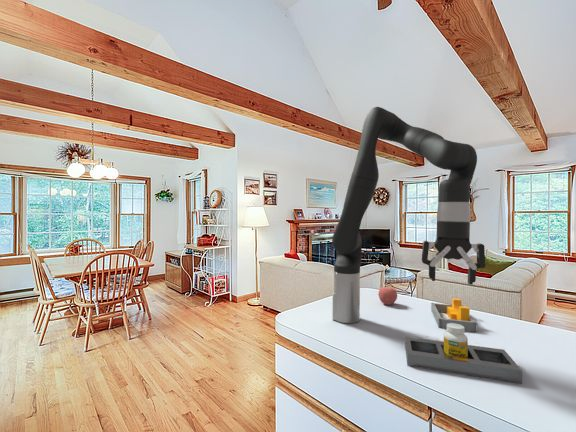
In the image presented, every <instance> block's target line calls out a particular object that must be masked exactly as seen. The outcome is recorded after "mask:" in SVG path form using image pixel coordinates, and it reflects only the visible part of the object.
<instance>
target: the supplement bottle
mask: <svg viewBox="0 0 576 432" xmlns="http://www.w3.org/2000/svg"><path fill="white" fill-rule="evenodd" d="M465 332H466V331H465V328H464V326H462V325H460V324H456V323H448V324H447V329H446V331H444V333H443V342H444V354H445V355H447V356H454V357H461V358H468V345H469V343H468V341H469V339H468V336H467V335H466V334H465Z"/></svg>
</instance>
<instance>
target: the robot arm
mask: <svg viewBox="0 0 576 432" xmlns="http://www.w3.org/2000/svg"><path fill="white" fill-rule="evenodd" d="M378 139H379V140H384V141H390V142H395V143H397V144H400V145H402V146H404V147H405V148H407V149H408V150H409V151H411V152H413V153H414V154H417V156H418V155H419V156H420V157H423V158H425V159H426V160H427V161H428V162H429V163H431V164H432V165H433V166H434V167H437V168H439V169H442V170H449V171H450V173H449V175H448V178H447V179H444V180H442V181H441V182H440V183H439V184H438V199H437V200H438V201H437V203H438V205H437V211H436V217H435V218H436V236H435V237H436V239H435V241H434V242H433V241H428V240H423V241H422V242H423V243H422V252H421V262H422V264H424V265H427V266H428V277H429V279H431V281H432V282H435V281H436V267H437V266H436V265H437V264H438V263H439V262H440V261H441V260H442V259H443V258H444V259H445V260H446V259H447V260H450V259H451V260H459V261H460V260H463V262H465V263H466V265H467V266H468V268H467V284H468V285H471V286H473V284H474V283H476V280H477V279H476V277H477V270H478V269H485V267H486V254H485V253H486V252H485V251H486V250H485V245H484V244H483V243H482V242H481V243H479V242H478V243H471V242H470V237H471V235H470V233H471V232H470V231H471V208H470V207H471V206H470V199H471V198H470V196H471V195H470V194H471V193H470V192H471V191H470V190H471V189H470V187H471V183H472V180H473V178H474V175H475V171H476V167H477V163H478V156H477V155H478V154H477V150H476V149H475V148H474V147H473V145H471V144H469V143H462V142H456V141H452V140H448V139H445V138H444V137H443V136H442V135H441V134H438V133H436V132H434V131H430V130H429V129H425V128H422V127H417V126H413V125H410V124H408V123H407V122H406V121H404V120H403V119H402V118H400V117H399V116H398V115H397V114H395V113H394V112H391V111H389V110H388V109H385V108H384V107H381V106H374V107H372V108H371V109H370V110H369V112H368V113H367V114H366V117H365V119H364V121H363V125H362V130H361V136H360V140H359V141H360V142H359V147H358V152H357V155H356V159H355V163H354V167H353V169H352V172H351V176H350V179H349V183H348V187H347V190H346V194H345V198H344V203H343V207H342V208H343V209H342V211H341V215H340V217H339V220H338V223H337V225H336V227H335V230H334V232H333V234H332V239H331V242H332V247H333V249H334V250H335V251H336V257H335V258H336V259H335V262H334V263H333V292H332V318H331V319H332V321H337V322H338V323H341V324H342V323H343V324H354V323H355V324H356V323H358V322H359V321H360V320H361V319H360V316H361V313H360V309H361V307H360V305H361V303H360V302H361V301H360V300H361V299H360V298H361V297H360V296H361V295H360V294H361V291H360V290H361V266H362V265H361V264H362V253H363V252H362V249H363V248H362V247H363V245H362V243H363V242H362V236H361V233H360V229H361V224H362V220H363V218H364V215H365V213H366V211H367V209H368V207H369V206H370V204H371V201H372V199H373V197H374V195H375V192H376V189H377V186H378V182H379V168H378V167H379V166H378V161H377V156H376V155H377V154H376V150H377V143H378ZM433 247H434V248H435V249H436V250H437V252H436V253H435V254H434V255H433V257H432V258H431V259H428V258H429V251H430V250H432V248H433ZM471 249H472V250H473V251H474V253H476V262H474V261H473V260H472V259H471V257H470V256H469V255H468V253H469V251H471Z"/></svg>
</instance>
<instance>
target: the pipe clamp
mask: <svg viewBox="0 0 576 432" xmlns="http://www.w3.org/2000/svg"><path fill="white" fill-rule="evenodd" d="M451 298H452V297H451ZM451 303H452V304H451V305H452V307H448V306H447V313H446V315H447V317H448V319H454V320H463V321H469V314H470V308H469V307H468V306H464V305H462V299H460V298H452V300H451Z"/></svg>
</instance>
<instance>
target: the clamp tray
mask: <svg viewBox="0 0 576 432" xmlns="http://www.w3.org/2000/svg"><path fill="white" fill-rule="evenodd" d="M430 304H431V305H430V309H431V313H432V317H433V318H434V321H435V322H436V325H437V327H438V328H440V329H446V330H447V324H448V323H456V324H460V325H462V326H464V328H465V332H471V333H472V332H473V333H477V322H476V321H475V319H474V317H472V315H471V314H470V313H469V321H463V320H454V319H450V318H444V317H442V316H441V313H446V314H447V306H448V307H452V304H448V303H447V304H445V303H434V302H431V303H430Z"/></svg>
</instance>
